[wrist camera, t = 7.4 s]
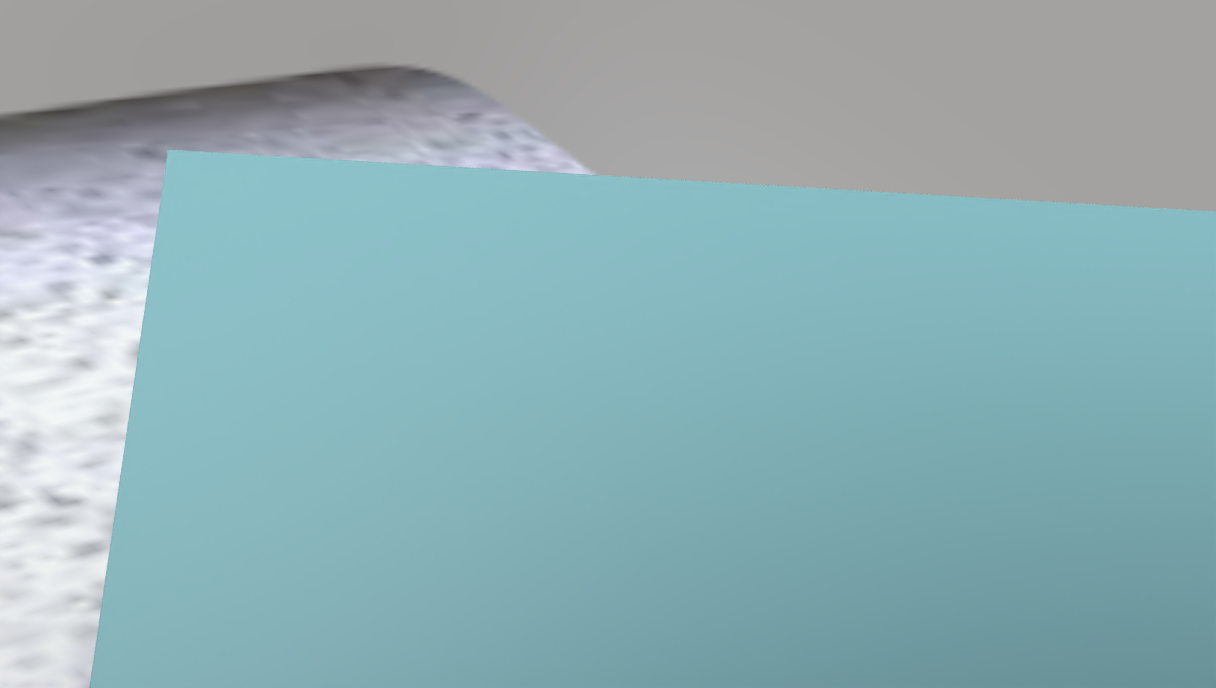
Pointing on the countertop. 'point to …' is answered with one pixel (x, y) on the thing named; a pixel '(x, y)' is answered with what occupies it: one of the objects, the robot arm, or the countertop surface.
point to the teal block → (660, 436)
